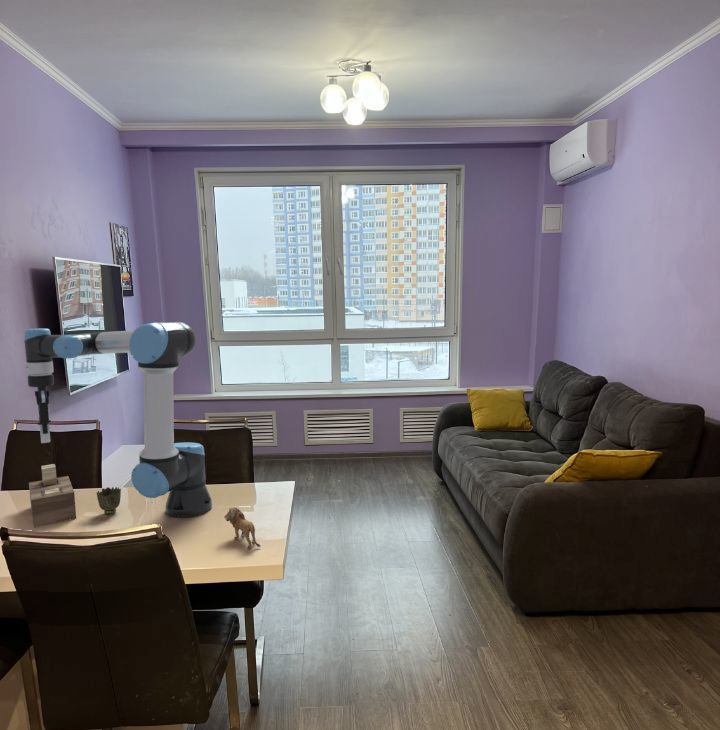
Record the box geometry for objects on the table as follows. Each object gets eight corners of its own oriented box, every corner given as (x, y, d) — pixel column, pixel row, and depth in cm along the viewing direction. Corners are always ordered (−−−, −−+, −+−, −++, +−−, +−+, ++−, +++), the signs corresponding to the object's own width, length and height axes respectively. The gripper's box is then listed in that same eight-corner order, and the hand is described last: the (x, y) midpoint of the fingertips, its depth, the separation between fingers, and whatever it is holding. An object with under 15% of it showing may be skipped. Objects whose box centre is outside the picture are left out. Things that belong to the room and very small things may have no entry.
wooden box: (76, 518, 171) (74, 491, 170) (33, 527, 164) (31, 499, 163) (70, 499, 187) (68, 475, 186) (31, 507, 181) (28, 481, 180)
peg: (57, 489, 179) (55, 466, 178) (43, 491, 176) (42, 468, 175) (56, 485, 182) (54, 463, 181) (43, 488, 180) (41, 465, 179)
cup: (110, 519, 170) (108, 495, 169) (93, 516, 173) (91, 493, 172) (127, 510, 177) (125, 488, 176) (110, 507, 180) (108, 485, 179)
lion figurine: (222, 537, 156) (221, 508, 155) (237, 531, 160) (236, 503, 159) (253, 551, 147) (252, 521, 146) (267, 544, 151) (266, 515, 150)
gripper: (26, 372, 178) (32, 439, 180) (28, 377, 167) (33, 448, 170) (51, 371, 182) (56, 436, 185) (54, 375, 171) (60, 444, 174)
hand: (45, 442), depth 177 cm, fingers closed
